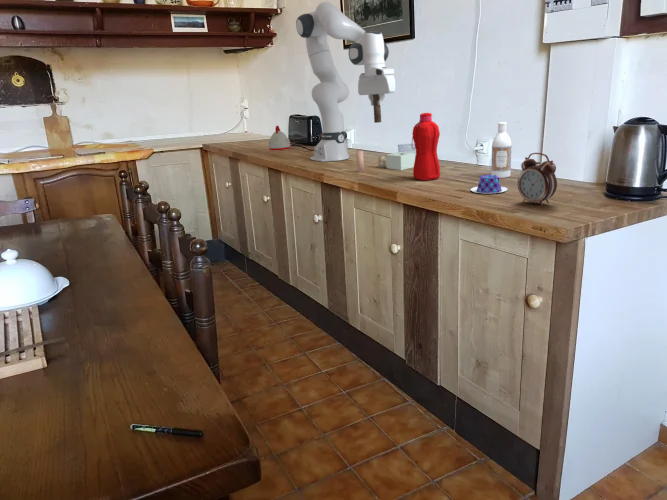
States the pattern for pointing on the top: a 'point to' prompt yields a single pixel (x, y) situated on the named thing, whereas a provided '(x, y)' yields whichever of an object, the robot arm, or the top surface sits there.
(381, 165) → the short pin
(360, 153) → the medium pin
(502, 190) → the pudding
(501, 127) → the bath foam
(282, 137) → the kitchen timer
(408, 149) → the medicine box
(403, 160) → the hole block
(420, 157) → the water bottle
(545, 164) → the alarm clock
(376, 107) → the long pin
